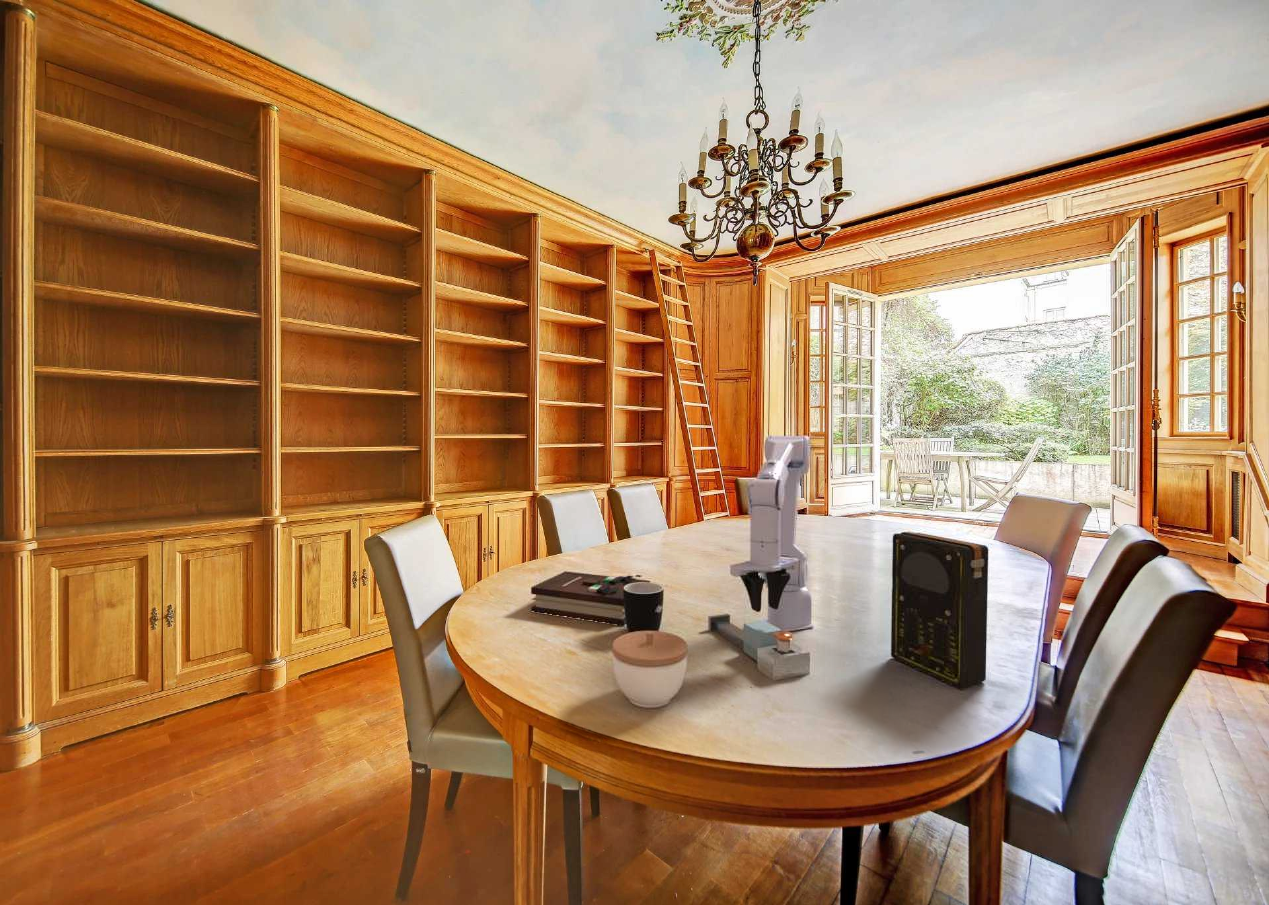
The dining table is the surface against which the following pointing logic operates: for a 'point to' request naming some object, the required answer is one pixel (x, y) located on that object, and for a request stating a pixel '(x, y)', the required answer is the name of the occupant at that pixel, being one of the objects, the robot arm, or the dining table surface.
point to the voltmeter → (940, 607)
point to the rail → (726, 629)
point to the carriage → (758, 636)
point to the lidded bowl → (649, 666)
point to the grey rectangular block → (783, 662)
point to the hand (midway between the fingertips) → (764, 609)
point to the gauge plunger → (783, 641)
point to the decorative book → (583, 596)
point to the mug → (643, 606)
